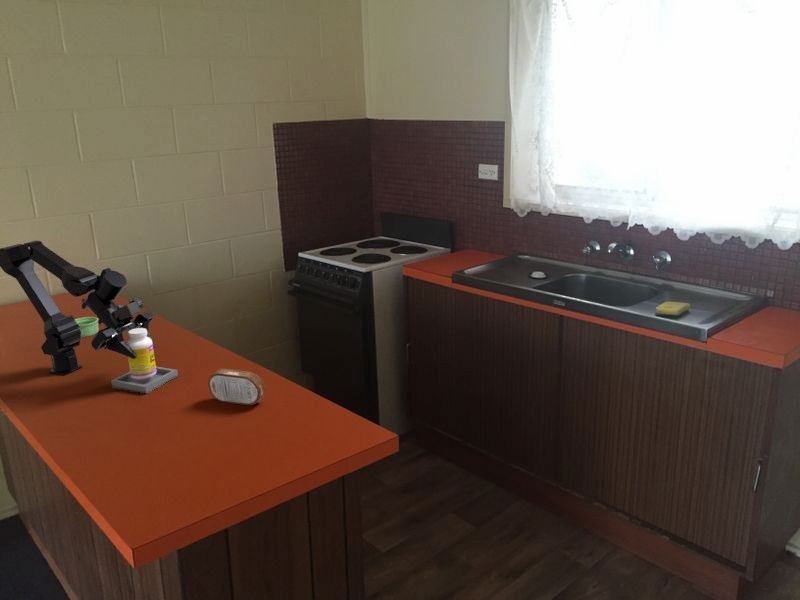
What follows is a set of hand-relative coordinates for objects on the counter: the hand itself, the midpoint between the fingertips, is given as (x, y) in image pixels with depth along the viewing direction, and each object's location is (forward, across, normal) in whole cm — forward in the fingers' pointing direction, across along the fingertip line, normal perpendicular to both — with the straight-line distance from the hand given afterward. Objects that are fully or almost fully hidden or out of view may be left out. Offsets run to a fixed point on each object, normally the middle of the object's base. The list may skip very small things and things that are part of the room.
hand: (144, 353), depth 182 cm
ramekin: (-29, +27, +42) cm, 58 cm away
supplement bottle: (+4, 0, +6) cm, 7 cm away
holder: (+5, 0, +7) cm, 9 cm away
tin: (+28, -3, -16) cm, 32 cm away
